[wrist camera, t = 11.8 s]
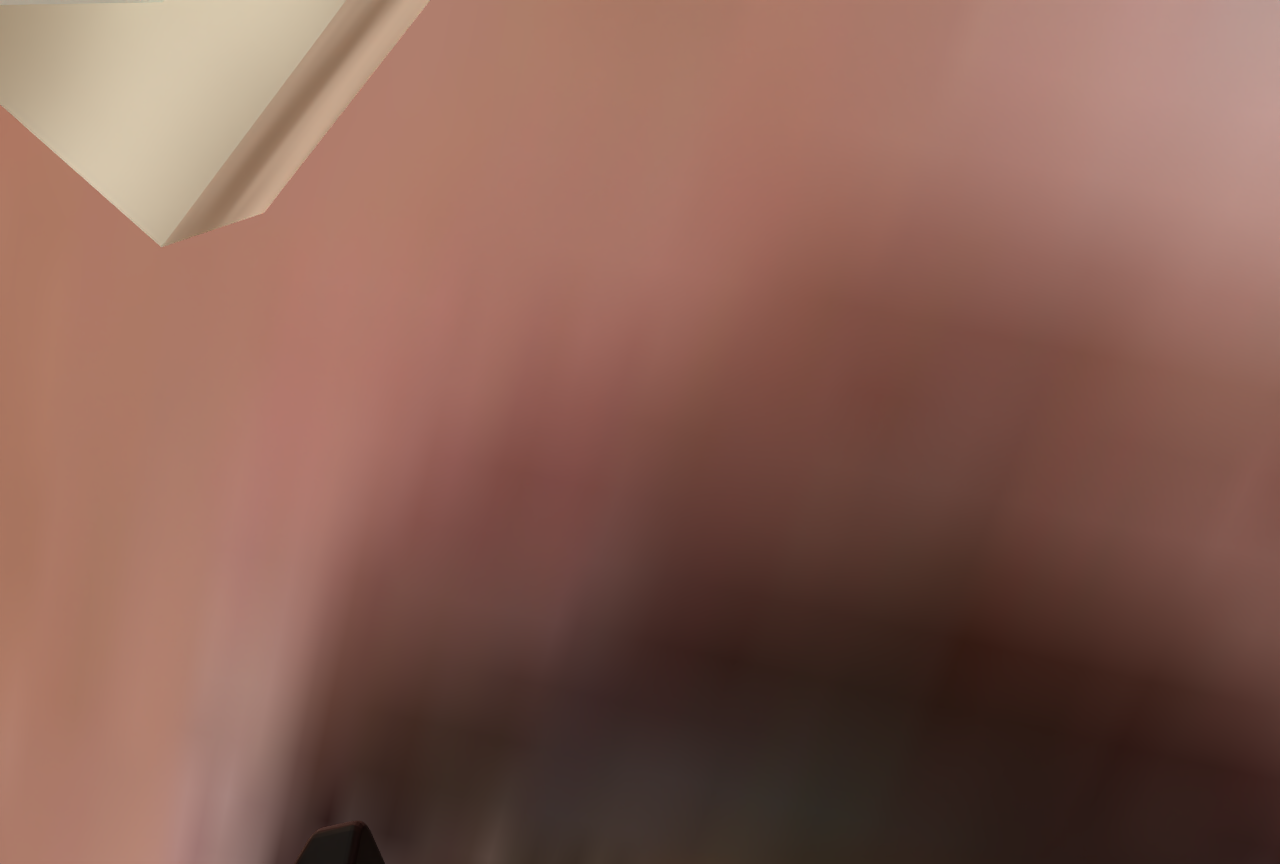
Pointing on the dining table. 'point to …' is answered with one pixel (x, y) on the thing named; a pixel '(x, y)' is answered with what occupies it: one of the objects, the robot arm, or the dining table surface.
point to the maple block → (191, 95)
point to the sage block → (71, 1)
